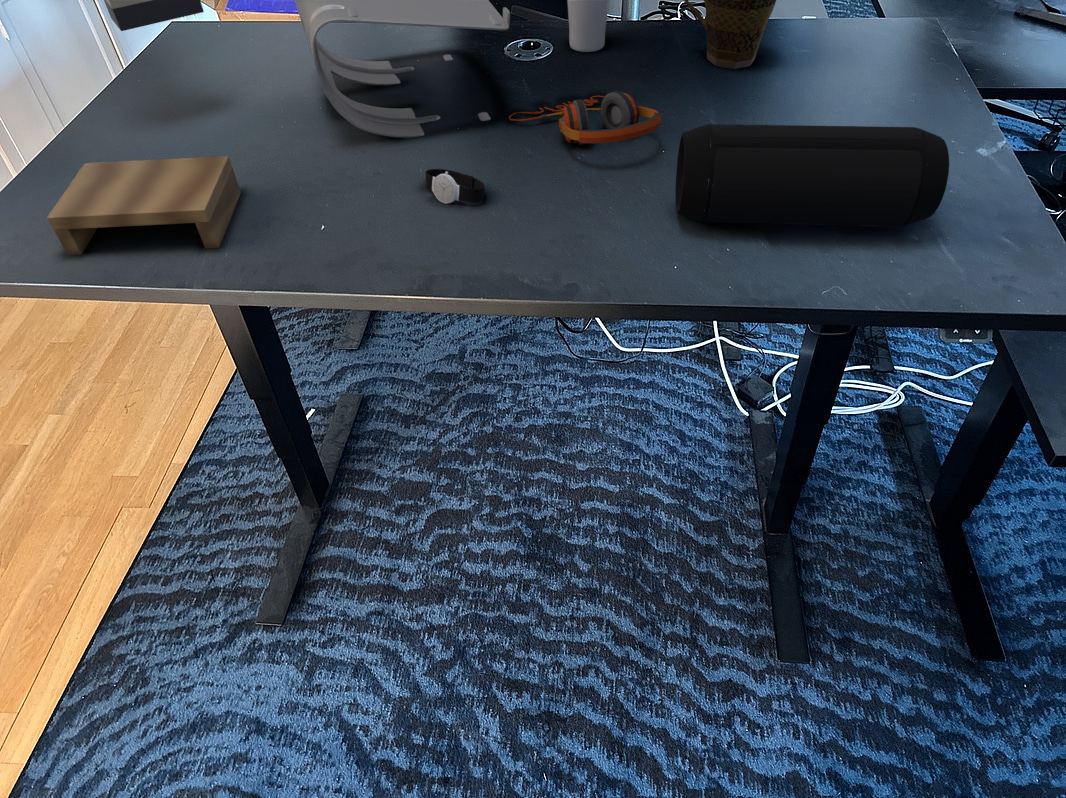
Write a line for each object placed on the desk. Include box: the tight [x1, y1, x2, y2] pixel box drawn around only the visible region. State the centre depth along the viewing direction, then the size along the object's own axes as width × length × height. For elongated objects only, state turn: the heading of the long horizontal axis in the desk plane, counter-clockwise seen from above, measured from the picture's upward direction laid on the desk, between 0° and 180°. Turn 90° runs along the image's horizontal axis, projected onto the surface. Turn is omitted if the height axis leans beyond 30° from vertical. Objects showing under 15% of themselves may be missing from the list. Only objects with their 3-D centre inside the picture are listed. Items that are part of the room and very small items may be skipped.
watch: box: [425, 168, 486, 204], centre depth 87 cm, size 8×5×4 cm, turn 56°
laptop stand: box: [294, 0, 511, 139], centre depth 101 cm, size 26×24×16 cm
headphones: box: [508, 90, 663, 147], centre depth 96 cm, size 17×5×20 cm
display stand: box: [46, 155, 242, 256], centre depth 84 cm, size 16×11×5 cm
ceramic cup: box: [684, 0, 777, 70], centre depth 109 cm, size 13×10×10 cm
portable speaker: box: [674, 123, 950, 228], centre depth 80 cm, size 26×10×10 cm, turn 85°
